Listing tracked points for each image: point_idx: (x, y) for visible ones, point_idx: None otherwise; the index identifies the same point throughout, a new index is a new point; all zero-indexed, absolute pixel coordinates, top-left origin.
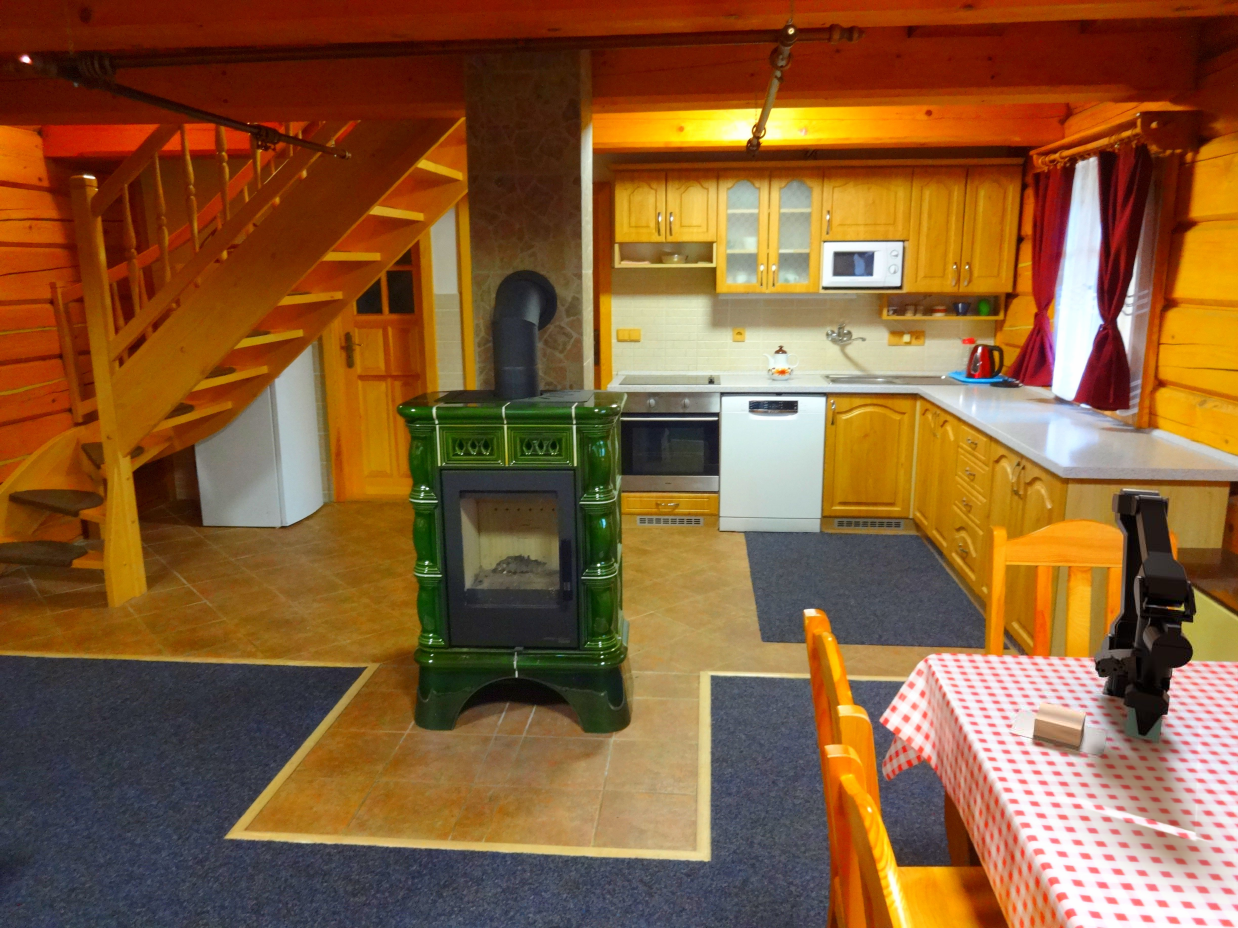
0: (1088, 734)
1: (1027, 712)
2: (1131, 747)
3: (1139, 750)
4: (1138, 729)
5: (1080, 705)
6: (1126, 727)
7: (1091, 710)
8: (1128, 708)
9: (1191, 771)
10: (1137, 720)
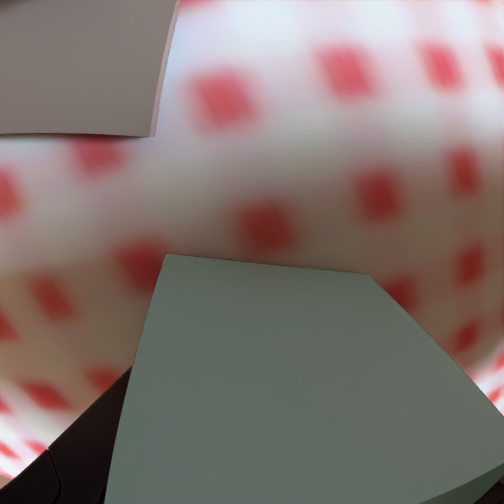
0: (32, 20)
1: None
2: (58, 284)
3: (52, 320)
4: (119, 381)
5: (501, 56)
6: (156, 295)
7: (479, 95)
8: (114, 464)
9: (34, 448)
10: (61, 436)
